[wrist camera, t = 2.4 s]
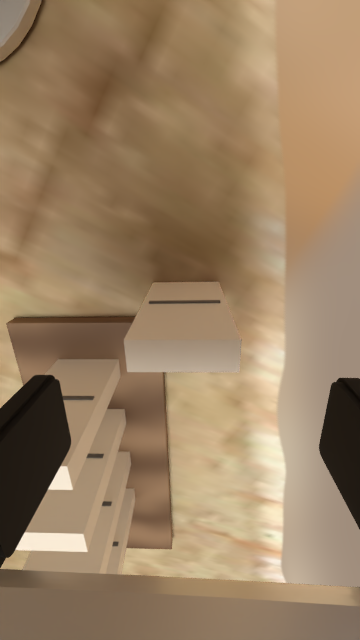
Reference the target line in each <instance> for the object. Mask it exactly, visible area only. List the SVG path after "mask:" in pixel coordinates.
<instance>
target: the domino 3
mask: <svg viewBox="0 0 360 640" xmlns="http://www.w3.org/2000/svg"><path fill="white" fill-rule="evenodd" d="M130 467H131V458H130V452H118V453H117V456H116V460H115V463H114V466H113V470H112V473H111V476H110V480H109V483H108V486H107V490H106V493H105V496H104V500H103V503H102V506H101V510H100V513H99V516H98V520H97V523H96V526H95V530H94V533H93V536H92V540H91V543H90V546H89V550H88V552H68V551H31V552H30V554H29V556H28V559H27V561H26V563H25V565H24V567H23V569H22V570H32V571H54V572H77V573H99V574H106V570H107V566H108V562H109V558H110V553H111V549H112V545H113V540H114V536H115V532H116V527H117V523H118V519H119V514H120V510H121V506H122V502H123V497H124V493H125V489H126V484H127V480H128V476H129V471H130Z"/></svg>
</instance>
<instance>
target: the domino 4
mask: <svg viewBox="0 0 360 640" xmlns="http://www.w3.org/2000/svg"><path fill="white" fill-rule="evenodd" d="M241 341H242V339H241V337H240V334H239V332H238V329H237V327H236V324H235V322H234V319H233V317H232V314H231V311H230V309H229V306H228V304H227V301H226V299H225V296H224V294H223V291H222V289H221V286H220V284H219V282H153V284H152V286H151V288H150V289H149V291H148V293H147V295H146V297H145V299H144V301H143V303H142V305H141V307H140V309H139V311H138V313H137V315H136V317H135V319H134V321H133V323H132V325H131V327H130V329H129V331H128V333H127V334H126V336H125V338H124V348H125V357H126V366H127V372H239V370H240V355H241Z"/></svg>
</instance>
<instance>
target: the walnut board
mask: <svg viewBox="0 0 360 640" xmlns="http://www.w3.org/2000/svg"><path fill="white" fill-rule="evenodd" d="M134 319H135V317H50V318H14V319H13V320H11V321H9V322H8V323H6V324H7V328H8V332H9V335H10V339H11V342H12V346H13V349H14V353H15V357H16V360H17V364H18V367H19V371H20V375H21V378H22V382H23V385H25V384H26V383H27V382H28V381H29V380H30V379H31V378H32V377H33V376H34V375H45V373H46V372H47V371H48V370H49V369H50V368H51V367H52V366H53V364H54V363H55V362H56V361H57V360H58V359H119V367H120V375H121V376H120V379H119V381H118V384H117V386H116V388H115V391H114V393H113V395H112V398H111V400H110V403H109V405H108V407H107V409H125V417H126V426H125V429H124V433H123V436H122V439H121V443H120V446H119V450H118V452H130V458H131V467H130V471H129V476H128V480H127V484H126V489H134V491H135V505H134V510H133V515H132V520H131V526H130V531H129V536H128V541H127V547H126V548H145V549H172V519H171V499H170V479H169V459H168V440H167V420H166V400H165V380H164V372H127V366H126V357H125V348H124V338H125V336H126V334H127V333H128V331H129V329H130V327H131V325H132V323H133V321H134Z"/></svg>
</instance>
